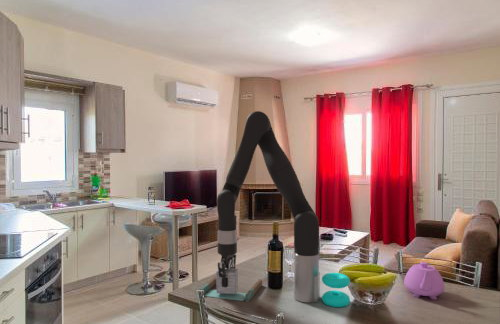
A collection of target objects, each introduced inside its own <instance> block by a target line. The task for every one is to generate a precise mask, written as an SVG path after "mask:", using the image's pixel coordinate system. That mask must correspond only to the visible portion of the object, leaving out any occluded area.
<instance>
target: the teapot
mask: <svg viewBox="0 0 500 324" xmlns="http://www.w3.org/2000/svg"><path fill="white" fill-rule="evenodd" d="M403 283H404V287H405V288H406V289H407V290H408V291H409V292H411V293H412V297H413V298H417V299H418V298H420V296H424V297H429V299H431V300H433V301H434V300H438V298H437V297H438V296H440V295H441V294H442V293H443V292H444V291H445V283H444V279H443V277H442V275H441V274H440V272H439V271H438V270H437V268H436V267H435V266H433V265H430V264H429V263H428V262H426V261H420V262H419V263H416V264H412V266H411V267H409V269H408V270H407V272H406V274H405V276H404V282H403Z"/></svg>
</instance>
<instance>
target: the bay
mask: <svg viewBox="0 0 500 324" xmlns="http://www.w3.org/2000/svg"><path fill="white" fill-rule="evenodd" d="M214 286H217V283H216V275H215V276H213V277H212V278H211V279H210V280H209V281H208V282H206V283H205V284H204V285H202V286H201V287H200V288H199V290H204V293H205V294H207V293H208V292H209V291H210V290H211V289H212V288H213V287H214ZM262 286H263V279H257V281H256V283H254V284H253V286H252V287H251V288H250V289H249V290H248V291H247V292H246V299H245V302H247V303H249V302H250V301H251V300H252V298H253V297H254V296H255V295H256V294H257V292H258V291H259V290H260V289H261V288H262ZM199 290H198V291H199Z"/></svg>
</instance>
